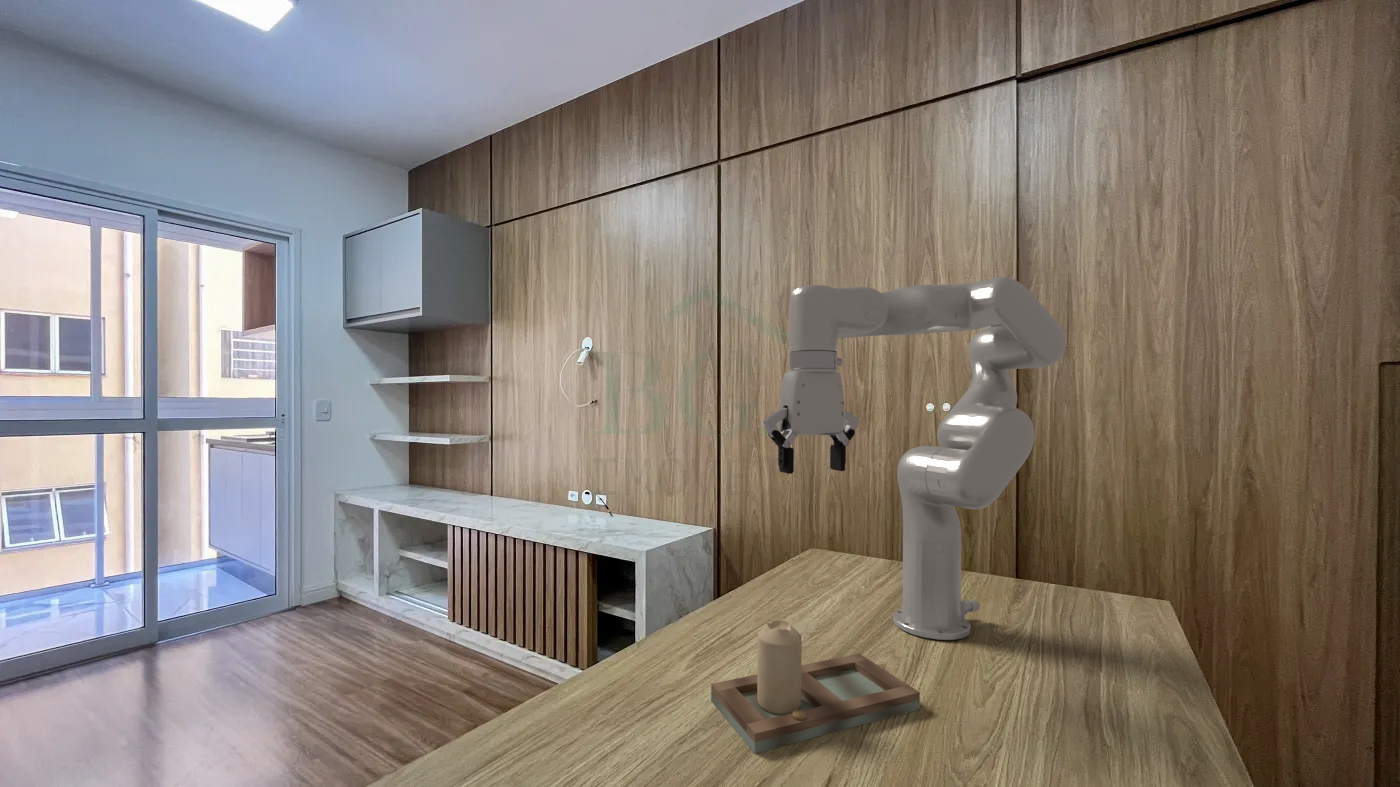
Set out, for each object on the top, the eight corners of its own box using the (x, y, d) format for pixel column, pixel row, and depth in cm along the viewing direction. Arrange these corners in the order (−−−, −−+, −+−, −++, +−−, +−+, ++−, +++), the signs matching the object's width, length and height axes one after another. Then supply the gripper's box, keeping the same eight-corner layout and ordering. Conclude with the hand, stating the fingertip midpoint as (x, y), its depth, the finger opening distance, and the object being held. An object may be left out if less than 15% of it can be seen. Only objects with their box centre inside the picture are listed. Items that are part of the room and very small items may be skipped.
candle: (800, 718, 68) (800, 635, 69) (754, 712, 70) (755, 630, 70) (802, 694, 74) (802, 617, 74) (760, 689, 75) (760, 614, 75)
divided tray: (859, 668, 84) (859, 650, 84) (919, 709, 73) (919, 689, 73) (711, 700, 75) (711, 680, 75) (754, 753, 64) (754, 730, 64)
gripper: (843, 367, 97) (842, 466, 97) (754, 363, 91) (753, 470, 90) (872, 364, 90) (871, 472, 90) (778, 361, 84) (777, 477, 84)
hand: (812, 471), depth 90 cm, fingers open, 9 cm apart
